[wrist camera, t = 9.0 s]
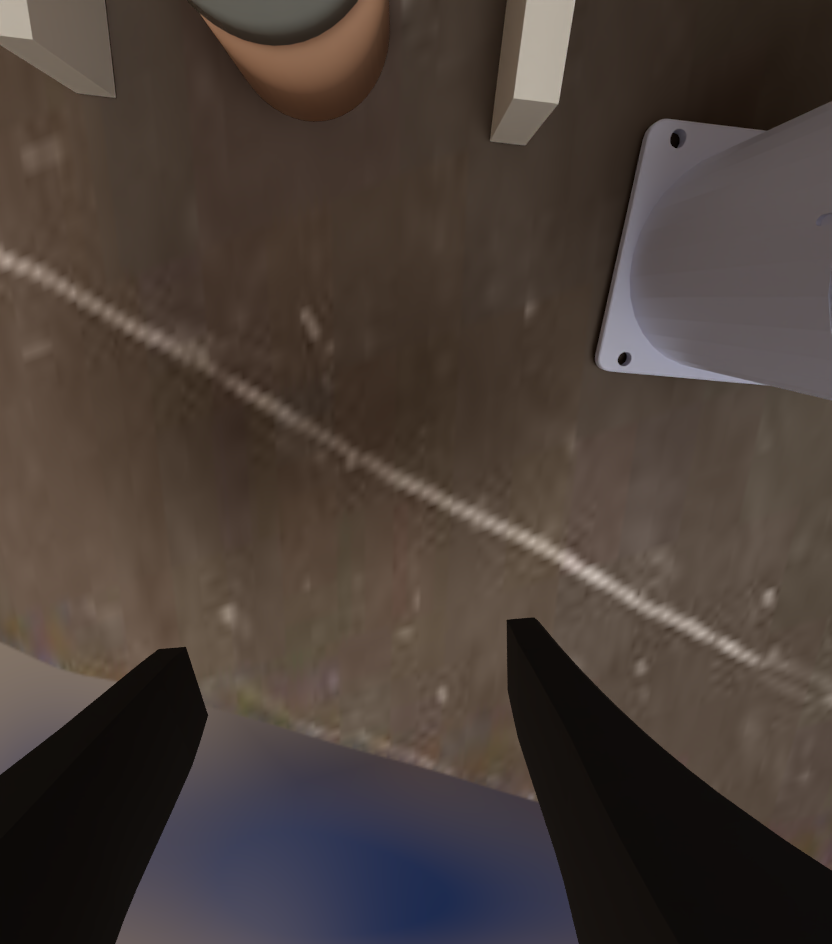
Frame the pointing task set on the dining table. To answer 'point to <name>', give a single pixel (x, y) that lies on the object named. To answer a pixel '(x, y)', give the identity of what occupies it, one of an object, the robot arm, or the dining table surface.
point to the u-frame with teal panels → (91, 72)
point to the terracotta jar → (304, 50)
